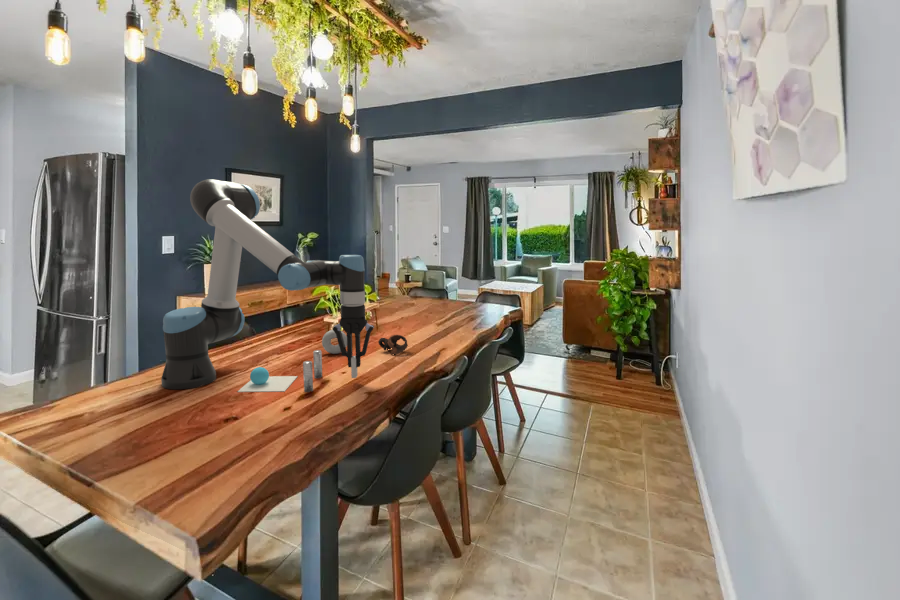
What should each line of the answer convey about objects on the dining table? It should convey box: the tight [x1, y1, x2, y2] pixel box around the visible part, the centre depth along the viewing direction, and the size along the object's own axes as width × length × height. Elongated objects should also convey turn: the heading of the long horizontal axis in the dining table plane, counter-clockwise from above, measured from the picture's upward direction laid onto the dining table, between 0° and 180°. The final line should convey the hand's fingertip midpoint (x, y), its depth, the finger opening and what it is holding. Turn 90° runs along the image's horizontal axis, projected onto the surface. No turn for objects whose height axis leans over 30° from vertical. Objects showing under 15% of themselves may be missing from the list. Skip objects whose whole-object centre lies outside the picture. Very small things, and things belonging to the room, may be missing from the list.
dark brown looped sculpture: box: [378, 334, 409, 355], centre depth 178 cm, size 12×10×8 cm
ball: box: [249, 366, 270, 385], centre depth 139 cm, size 6×6×6 cm
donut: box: [321, 329, 347, 355], centre depth 174 cm, size 10×4×10 cm, turn 104°
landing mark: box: [237, 375, 298, 393], centre depth 140 cm, size 14×14×1 cm
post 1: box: [302, 360, 314, 393], centre depth 134 cm, size 3×3×9 cm
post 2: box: [312, 349, 323, 379], centre depth 146 cm, size 3×3×9 cm
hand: (354, 376), depth 141 cm, fingers closed
